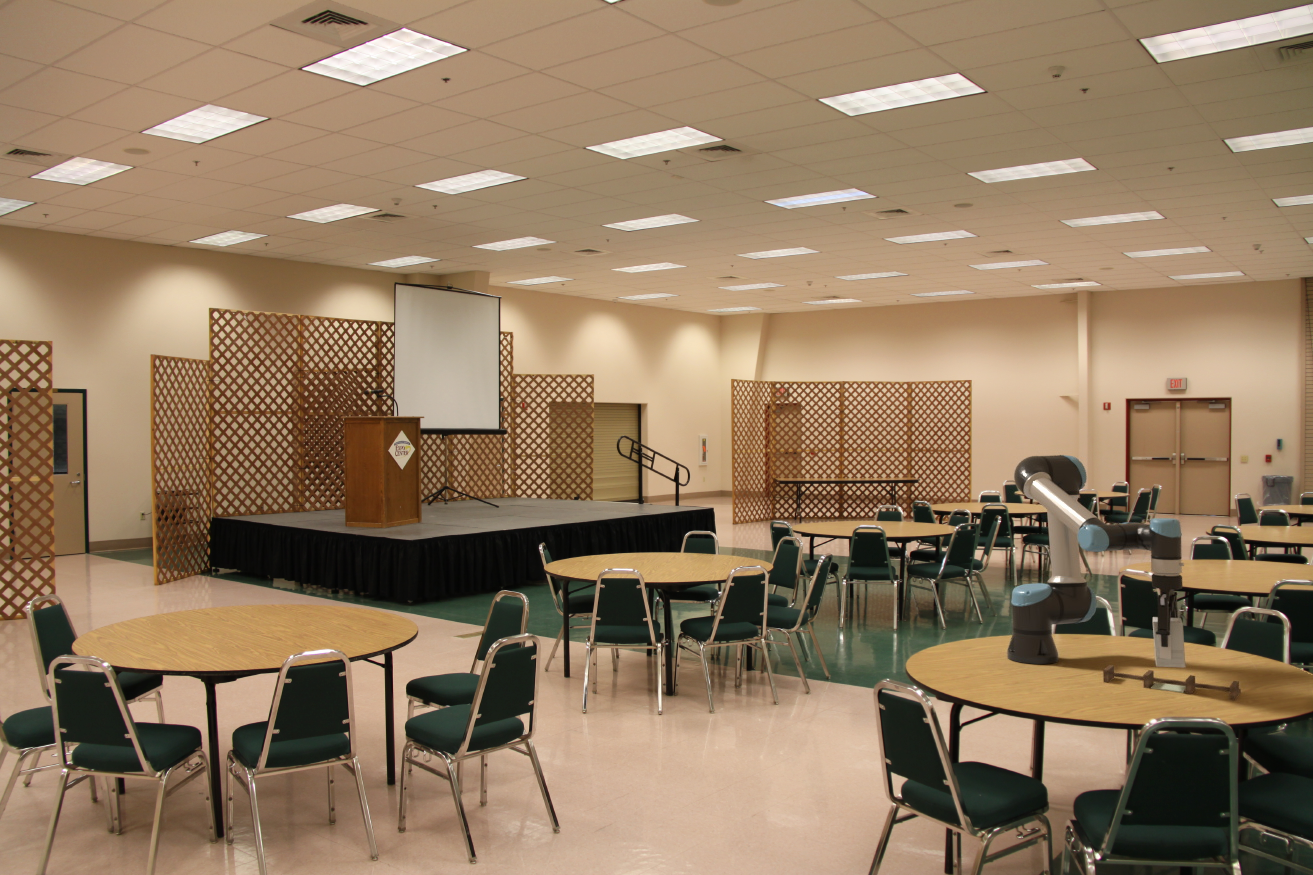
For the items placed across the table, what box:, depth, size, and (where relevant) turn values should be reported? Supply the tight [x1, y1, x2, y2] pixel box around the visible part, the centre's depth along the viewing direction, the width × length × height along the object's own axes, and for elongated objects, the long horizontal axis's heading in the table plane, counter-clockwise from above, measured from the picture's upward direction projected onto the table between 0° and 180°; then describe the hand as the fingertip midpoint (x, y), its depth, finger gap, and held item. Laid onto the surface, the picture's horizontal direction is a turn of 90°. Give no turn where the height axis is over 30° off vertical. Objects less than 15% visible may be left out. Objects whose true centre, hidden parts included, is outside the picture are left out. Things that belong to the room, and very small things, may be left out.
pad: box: [1150, 682, 1186, 694], centre depth 259 cm, size 8×6×1 cm
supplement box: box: [1152, 616, 1186, 669], centre depth 259 cm, size 7×7×13 cm
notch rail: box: [1102, 664, 1242, 701], centre depth 260 cm, size 32×10×4 cm, turn 51°
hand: (1169, 655), depth 259 cm, fingers closed on supplement box, 8 cm apart
